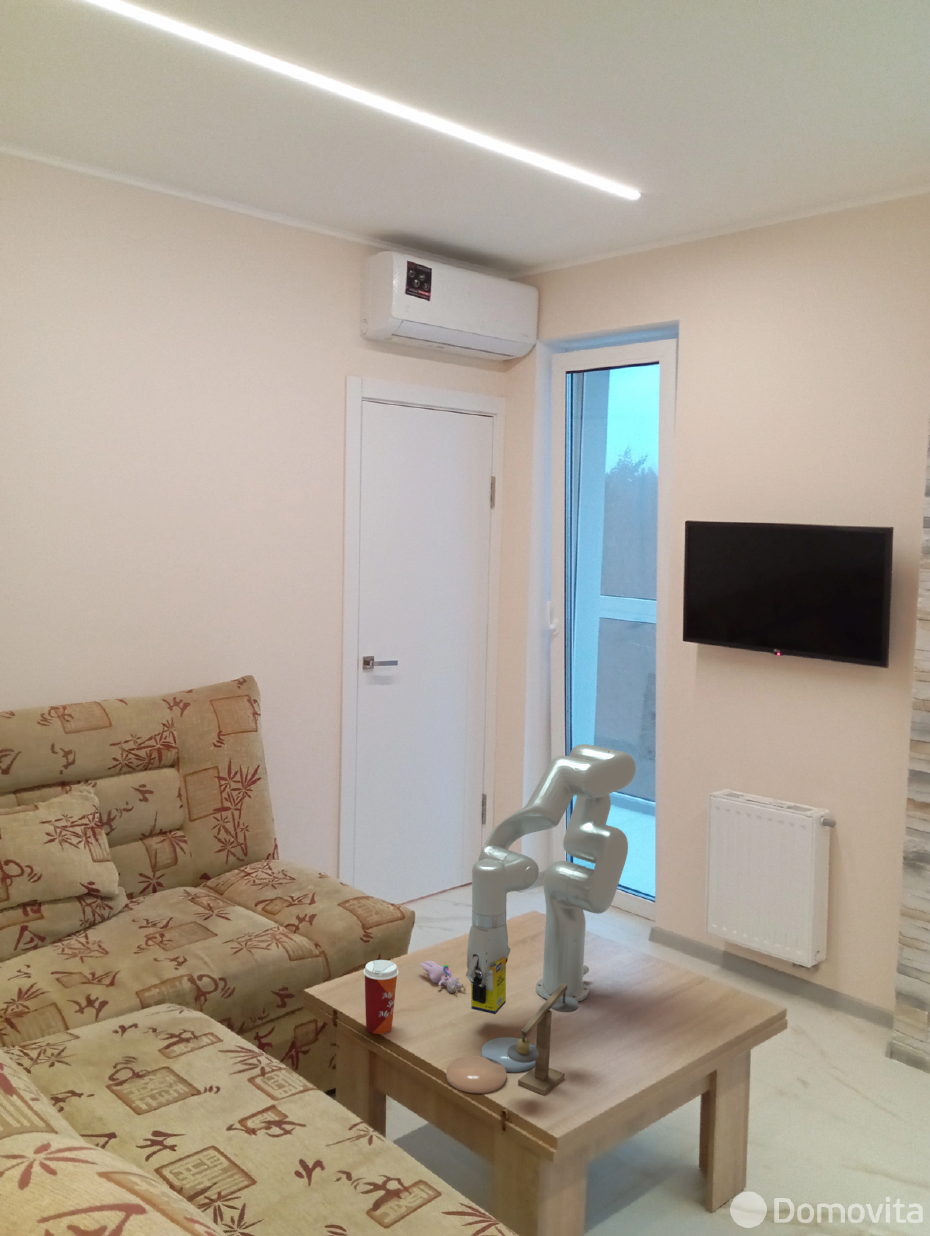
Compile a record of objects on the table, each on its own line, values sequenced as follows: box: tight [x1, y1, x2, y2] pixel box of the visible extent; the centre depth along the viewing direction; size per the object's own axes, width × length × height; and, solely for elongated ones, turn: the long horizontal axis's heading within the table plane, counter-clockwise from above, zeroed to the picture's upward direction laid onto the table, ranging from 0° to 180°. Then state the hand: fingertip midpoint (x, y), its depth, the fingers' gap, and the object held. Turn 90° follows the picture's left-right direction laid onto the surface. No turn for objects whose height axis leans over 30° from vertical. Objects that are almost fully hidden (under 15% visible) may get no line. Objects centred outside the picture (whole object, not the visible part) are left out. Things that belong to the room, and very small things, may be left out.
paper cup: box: [362, 959, 399, 1035], centre depth 219 cm, size 8×8×14 cm
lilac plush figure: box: [418, 960, 467, 996], centre depth 242 cm, size 6×6×15 cm
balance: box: [507, 983, 579, 1096], centre depth 200 cm, size 21×6×18 cm, turn 145°
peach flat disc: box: [445, 1055, 507, 1095], centre depth 201 cm, size 12×12×1 cm
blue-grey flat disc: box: [481, 1036, 536, 1073], centre depth 209 cm, size 12×12×1 cm
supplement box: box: [470, 957, 507, 1015], centre depth 221 cm, size 6×6×11 cm
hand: (488, 994), depth 221 cm, fingers closed on supplement box, 6 cm apart
